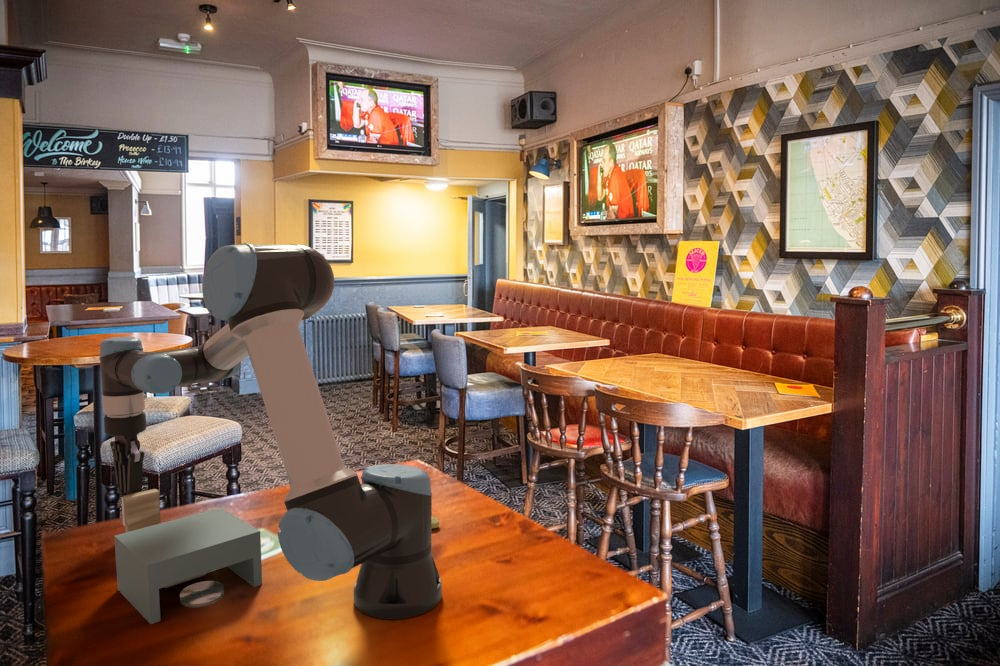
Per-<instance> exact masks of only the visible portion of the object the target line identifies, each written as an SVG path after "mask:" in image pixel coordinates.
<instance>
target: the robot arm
mask: <svg viewBox="0 0 1000 666" xmlns="http://www.w3.org/2000/svg"><path fill="white" fill-rule="evenodd" d="M201 283H202V285H201V289H202V291H201V292H202V293H201V294H202V298H203V302H204V305H205V308H206V310H207V311H208V313H209V314H210V315H212V317H214V318H215V319H217V320H221V321H227V324H225V325H224V326H223V327H222V328H220V329H219V330H218V331H217V332H216V333H214V334H213V335H212V336H211V337H209V339H207V340H206V341H204V342H203V343H202V344H201V345H197V346H192V347H182V348H177V349H167V350H159V351H144V348H143V342H142V340H141V339H140V338H139V337H135V336H134V337H133V336H118V337H117V336H116V337H110V338H109V337H108V338H106V339H103V340H102V341H101V342H100V343H99V344H100V345H99V357H98V359H99V365H100V376H101V391H102V392H101V393H102V394H101V396H102V397H101V399H102V413H103V414H104V415H105V416H104V417H103V427H104V433H105V435H107V436H111V437H114V440H111V441H110V443H109V446H110V448H111V453H112V460H113V467H114V474H115V475H114V476H115V482H116V488H117V489H119V492H120V494H119V496H120V498H121V512H122V514H121V515H122V516H121V517H122V526H124V527H125V516H124V500H123V496H125V495H129V494H134V493H138V492H142V491H143V471H144V470H143V468H144V465H143V464H144V458H145V452H144V450H142V451H140V449H141V443H140V441H139V439H138V435H139V434H140V433H143V432H144V431H146V430H147V418H146V417H147V416H146V413H145V412H144V410H146V404H145V399H147V398H148V396H147V394H145V393H149V394H153V395H155V394H156V395H157V394H159V395H164V394H168V393H170V392H172V391H173V390H174V389H176V388H178V387H184V386H190V385H195V384H201V383H207V382H208V383H209V382H214V381H223V380H225V379H229V378H232V377H234V376H236V375H237V374H238V373H239V369H240V368H241V365H242V361H244V359H246V358H248V356H249V360H250V362H251V363H250V364H251V367H252V369H253V373H254V376H255V379H256V382H257V384H258V385H257V386H258V387H259V388H258V389H259V392H260V394H261V398H262V400H263V404H264V408H265V410H266V413H267V416H268V419H269V423H270V426H271V429H272V433H273V435H274V438H275V442H276V445H277V448H278V451H279V454H280V457H281V461H282V464H283V467H284V470H285V473H286V476H287V479H288V483H289V489H288V491H287V493H286V495H285V497H284V499H283V502H284V506H285V507H286V512H285V513H284V514H283V515H282V516H281V518H280V520H279V522H278V529H279V530H278V531H277V538H278V542H279V543H278V544H279V545H280V546H279V547H280V550H281V552H282V553H283V555H284V557H285V559H286V561H287V562H288V564H289V565H290V566H291V567H292V568H293V570H294V571H296V572H297V573H299V574H301V576H302V577H304V578H306V579H307V580H311V581H315V582H323V581H328V580H331V579H333V578H335V577H338V576H340V575H344V574H347V573H349V572H350V571H351V570H352V569H354V568H357V567H358V566H360V567H359V571H358V575H357V579H356V581H355V584H354V585H353V586H354V587H353V603H354V606H355V608H356V609H357V610H358V611H359V612H361V613H362V614H364V615H366V616H369V617H371V618H375V619H381V620H403V619H410V618H413V617H418V616H420V615H423V614H425V613H429V611H431V610H432V609H434V608H435V607H436V606H438V604H439V603H440V602H441V599H442V595H443V590H442V589H443V588H442V587H443V586H442V585H443V583H442V579H441V577H440V574H439V570H438V568H437V565H436V562H435V559H434V556H433V552H432V529H431V517H433V516H432V511H433V510H432V509H433V508H432V507H433V505H432V500H433V499H432V496H433V492H432V483H431V477H430V475H429V474H428V472H427V471H425V470H424V469H423V468H422V469H421V468H419V467H415V466H413V465H406V464H392V463H388V464H386V463H383V464H374V465H370V466H366V467H365V468H363V470H362V475H361V476H360V479H359V475H358V473H357V472H355V471H353V470H352V469H349V468H348V467H346V466H345V465H344V461H343V458H342V456H341V453H340V450H339V446H338V443H337V440H336V437H335V434H334V431H333V428H332V424H331V422H330V420H329V419H330V418H329V415H328V413H327V410H326V407H325V403H324V401H323V397H322V394H321V391H320V388H319V385H318V383H317V380H316V377H315V373H314V370H313V367H312V364H311V361H310V358H309V355H308V351H307V349H306V345H305V343H304V340H303V337H302V333H301V331H300V328H299V327H300V324H301V322H303V321H306V320H308V319H309V318H311V317H312V316H313V315H315V314H316V313H318V312H319V311H320V310H321V309H322V308H324V307H325V305H327V303H328V302H329V300H330V299H331V296H332V295H333V292H334V289H335V275H334V271H333V268H332V266H331V264H330V262H329V261H328V259H327V258H326V257H325V256H324V255H323V254H322V253H320V252H319V251H317V250H316V249H314V248H312V247H309V246H308V245H307V246H306V245H302V244H255V243H253V244H252V243H251V244H250V243H248V242H247V243H246V242H243V243H240V244H230V245H229V244H228V245H224V246H221V247H219V248H218V249H216V250H215V251H214V252H213V254H212V255H211V256H210V257H209V259H208V261H207V262H206V265H205V268H204V272H203V275H202V282H201ZM360 480H361V482H360Z"/></svg>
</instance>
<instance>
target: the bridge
mask: <svg viewBox="0 0 1000 666" xmlns="http://www.w3.org/2000/svg"><path fill="white" fill-rule="evenodd" d="M113 537H114V551H115V552H114V554H115V568H116V569H115V570H116V581H117V582H116V584H117V591H118V592H119V591H120V592H119V593H121V595H122V596H123V597H124V598H125V599H126V600H127V601H128V602H129V603H130V604H131V606H133V608H135V610H136V611H137V612H138V613H139V614H140V615H141V616H142V617H143V619H145V620H146V621H147V623H149V624H150V625H153V624H157V623H158V622H161V606H160V589H162V588H165V587H166V586H169V585H172V584H175V583H178V582H181V581H184V580H187V579H190V578H193V577H196V576H199V575H202V574H208V573H211V572H213V571H217V570H221V569H223V568H228V569H229V570H231V571H232V572H234V574H236V575H237V576H238V577H240V578H242V579H243V580H244V581H246V582H247V583H248V584H249V585H251V586H252V587H253V588H256V587H258V586H259V587H260V586H261V585H263V573H262V572H263V571H262V570H263V569H262V545H261V544H262V542H261V541H262V540H261V531H260V530H259V529H257V528H256V527H254V526H252V525H251V524H249V523H248V522H246V521H244V520H243V519H242V518H240V517H238V516H236V515H235V514H233V513H232V512H229V510H227V509H225V508H223V507H217V508H214V509H210V510H206V511H202V512H201V511H200V512H198V513H194V514H191V515H187V516H183V517H178V518H175V519H173V520H169V521H164V522H161V523H160V524H156V525H153V526H149V527H145V528H141V529H137V530H134V531H130V532H123V533H119V534H115V535H113Z"/></svg>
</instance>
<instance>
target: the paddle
mask: <svg viewBox="0 0 1000 666" xmlns="http://www.w3.org/2000/svg"><path fill="white" fill-rule="evenodd" d="M123 500H124V516H125V526H124V530H125V532H124V533H126V532H130V531H134V530H137V529H141V528H145V527H149V526H153V525H156V524H160V523H162V521H161V506H160V490H158V489H156V488H152V489H148V490H144V491H143V490H142V492H138V493H134V494H129V495H125V496H123ZM206 574H207V573H205V574H202V575H199V576H196V577H193V578H190V579H187V580H184V581H181V582H178V583H175V584H172V585H169V586H166V587H164V588H165V589H167V588H171V587H174V586H177V585H180V584H183V583H186V582H189V581H192V580H195V579H198V578H202V577H204V576H206Z"/></svg>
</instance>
